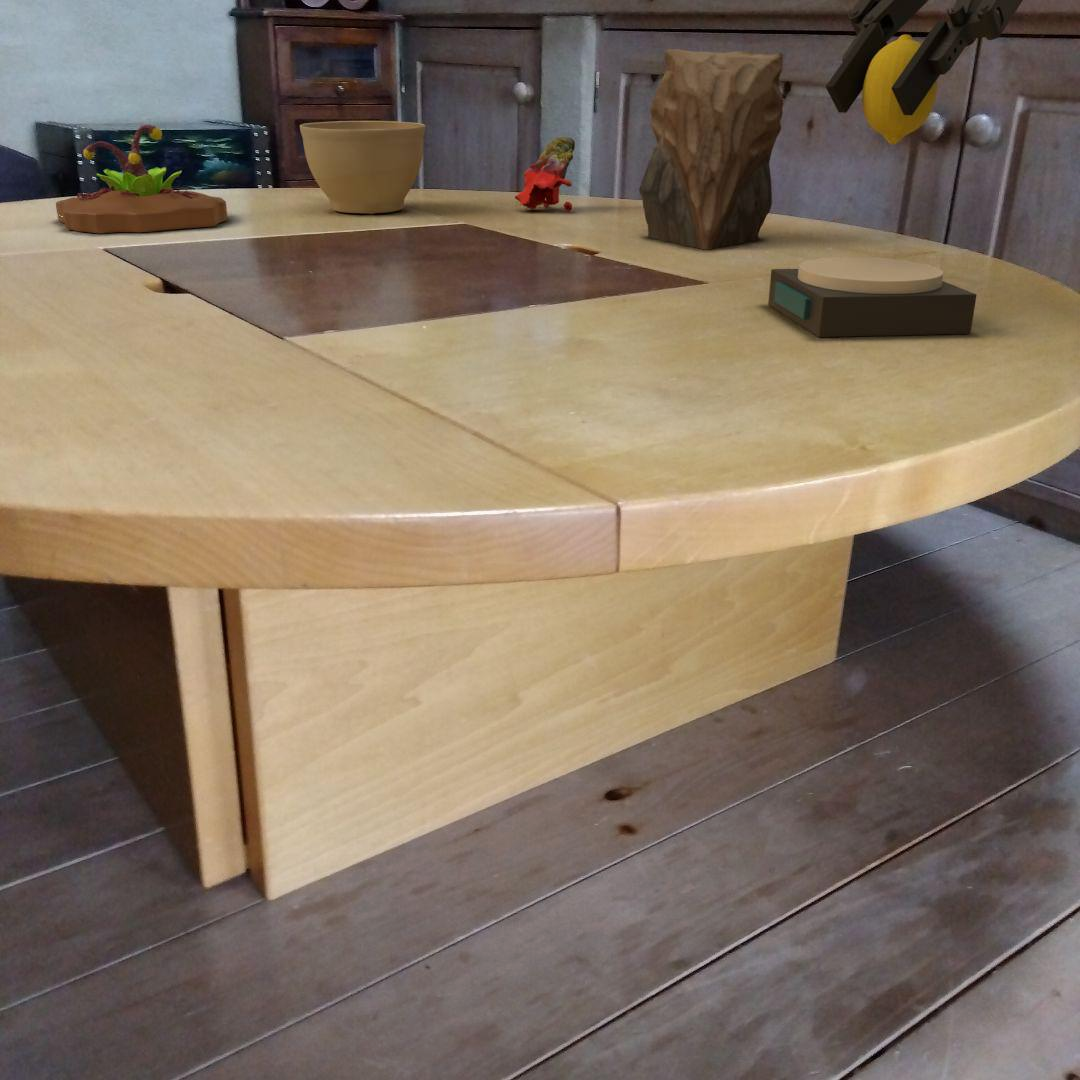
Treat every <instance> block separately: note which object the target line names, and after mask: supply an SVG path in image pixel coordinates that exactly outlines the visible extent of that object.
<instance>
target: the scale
mask: <svg viewBox="0 0 1080 1080" xmlns="http://www.w3.org/2000/svg"><path fill="white" fill-rule="evenodd" d="M943 279H944V271H943V270H942V269H941V268H939V267H937V266H934V265H931V264H928V263H927V264H926V263H922V262H917V261H911V260H904V259H897V258H885V257H872V256H871V257H869V256H832V257H831V256H830V257H829V256H828V257H819V258H818V257H817V258H812V259H808V260H805V261H804V260H803V261H802V262H800V263H799V264H798V268H772V269H771V271H770V281H769V292H768V302H767V303H768V304H767V305H768V306H769V307H771V308H772V309H774V310H776V311H777V312H778V313H780V314H782V315H783V316H785V317H786V318H787V319H790V320H791V321H792V322H794V323H796V324H798V325H799V326H801V327H802V328H803V329H806V331H809V332H810V333H811V334H813V335H815V336H816V337H818V338H846V337H847V338H848V337H854V338H855V337H887V336H888V337H890V336H891V337H892V336H893V337H894V336H931V335H933V336H935V335H970V334H971V332H972V326H973V320H974V313H975V307H976V301H977V294H976V293H974V292H972V291H969V290H966V289H964V288H962V287H959V286H957V285H955V284H951V283H949V282H946V281H944V280H943Z"/></svg>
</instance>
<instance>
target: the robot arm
mask: <svg viewBox="0 0 1080 1080" xmlns="http://www.w3.org/2000/svg"><path fill="white" fill-rule="evenodd" d="M929 1H930V0H858V1H857V2H856V4H855V5H854V6H853V8H852V9H851V10H850V12H849V13H848V14H847V15H848V19H849V21H850V24H851V26H852V28H853V30H854V32H855V34H856V36H855V37H854V39H853V41H852V42H851V43H850V45H849V46H848V47H847V49H846V50H845V52H844V53H843V55H842V58H841V61H842V62H841V64H840V65H839V67H838V68H837V69H836V71H835V72H834V74H833V75H832V76H831V78H830V79H829V81H828V82H827V84H826V85H825V89H826V91H827V93H828V94H829V95H828V96H829V97H830V99H831V101H832V102H833V104H834V107H835V108H836V110H837V112H838V113H839V114H841V113H843V114H847V112H848V111H849V110H850V109H851V107H852V105H853V104H854V102H856V100H857V99H858V97H859V95H860V94H861V92H863V85H864V80H865V77H866V73H867V70H868V68H869V65H870V63H871V61H872V59H873V58H874V56H875V55H876V54H877V53H878V52H879V51H880V50H881V49H882V48H883V47H885V46H886V45H888V42H889V41H890V40H891V39H892V38H893V37H894V36H895V35H896V34H897V33H898V32H899V31H900V30H901V28H903V27H904V26H905V25H906V24H907V23H908V22H909V21H910V19H912V18H913V17H914V16H915V15H916V14H917V13H918V12H919V11H920V10H921V9H922V8H923V7H924V6H925V5H926V4H927V3H928V2H929ZM1023 1H1024V0H955V3H954V5H953V7H950V9H949V8H947V9H946V13H947V15H948V18H949V20H950V23H951V24H950V25H948V22H947V20H937V21H936V23H934V25H933V27H932V28H931V29H930V31H929V32H928V34H927V36H926V37H925V39H924V40H923V41H922V43H920V44H921V46H920V47H919V49H918V50H917V51H916V53H915V54H914V56H913V57H912V59H911V60H910V62H909V63H908V64H907V66H906V67H905V69H904V70H903V72H902V73H901V75H900V76H899V77H898V79H897V80H896V82H895V83H894V85H893V86H892V88H891V89H892V91H893V93H894V95H895V97H896V99H897V102H898V104H899V106H900V108H901V110H902V112H903V114H904V115H913V114H914V112H915V111H916V109H917V108H918V106H919V105H920V103H921V102H922V100H923V99H924V98H925V96H926V95H927V93H928V92H929V90H930V89H931V87H932V86H933V84H934V83H935V82H936V80H937V81H938V80H939V79H938V78H939V77H940V76H943V75H946V74H947V73H948V72H949V71H950V70H952V68H953V66H954V64H956V61H957V60H958V59H959V58H960V56H961V55H962V53H963V52H964V50H965V49H966V47H970V46H971V45H973V44H974V43H975V42H976V40H977V39H979V38H983V37H985V40H987V41H993V40H994V41H995V40H996V39H997V38H1000V36H1001V35H1002V34H1003V32H1004V31H1005V29H1006V28H1007V26H1008V24H1009V23H1010V21H1011V20H1012V18H1013V17H1014V15H1015V13H1016V12H1017V11H1018V9H1019V7H1020V5H1021V4H1022V3H1023Z"/></svg>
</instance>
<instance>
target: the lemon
mask: <svg viewBox="0 0 1080 1080" xmlns="http://www.w3.org/2000/svg"><path fill="white" fill-rule="evenodd" d="M921 44H922V43H921V42H920V41H916V40H914V38H913V37H912V35H910V34H907V33H906V34H902V35H900V36H899V37H898V38H897V39H896V40H894V41H891V42H890V43H887V45H886V46H885V47H883V48H882V49H881V50H880V51H879V52H878V53H877V54H876V55H875V56H874V58H873V59H872V61H871V63H870V65H869V68H868V70H867V73H866V77H865V80H864V85H863V89H862V91H861V92H862V93H861V103H862V111H863V114H864V117H865V120H866V122H867V123H868V124H869V126H870V127H871V129H873V130H874V131H875V132H877V133H879V134H880V135H882V137H883V138H884V139H885V141H886V142H887V143H888V144H890V145H892V146H893V145H897V144H898V143H900V141H902V140H903V138H904V137H906V136H907V135H909V134H911V133H914V132H916V130H918V129H920V127H921V126H922V125H923V124H924V123H925V122H926V120H927V119H928V117H929V116H930V115H931V113H932V110H933V107H934V105H935V101H936V98H937V97H936V96H937V91H938V79H937V80H936V82H935V83H934V84H933V86H932V87H931V89H930V90H929V92H928V93H927V95H926V96H925V98H924V99H923V100H922V102H921V103H920V105H919V106H918V108H917V109H916V111H915V112H914V114H913V115H904V114H903V112H902V110H901V108H900V106H899V104H898V102H897V99H896V97H895V95H894V93H893V91H892V89H891V88H892V86H893V85H894V83H895V82H896V80H897V79H898V77H899V76H900V75H901V73H902V72H903V70H904V69H905V67H906V66H907V64H908V63H909V62H910V60H911V59H912V57H913V56H914V54H915V53H916V51H917V50H918V49H919V47H920V46H921Z"/></svg>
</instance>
